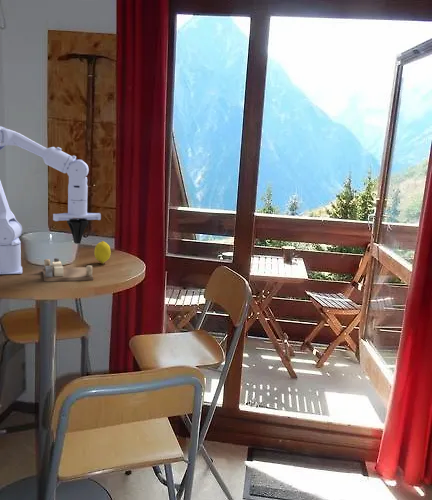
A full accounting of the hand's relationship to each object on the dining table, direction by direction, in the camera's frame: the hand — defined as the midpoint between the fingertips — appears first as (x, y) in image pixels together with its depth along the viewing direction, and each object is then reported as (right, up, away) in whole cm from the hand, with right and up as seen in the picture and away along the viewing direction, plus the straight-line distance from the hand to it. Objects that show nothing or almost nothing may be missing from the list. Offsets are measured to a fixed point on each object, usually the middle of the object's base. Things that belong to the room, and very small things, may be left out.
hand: (77, 243), depth 152 cm
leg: (-5, -9, -2) cm, 11 cm away
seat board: (-3, -10, -1) cm, 11 cm away
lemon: (+4, -7, +17) cm, 19 cm away
